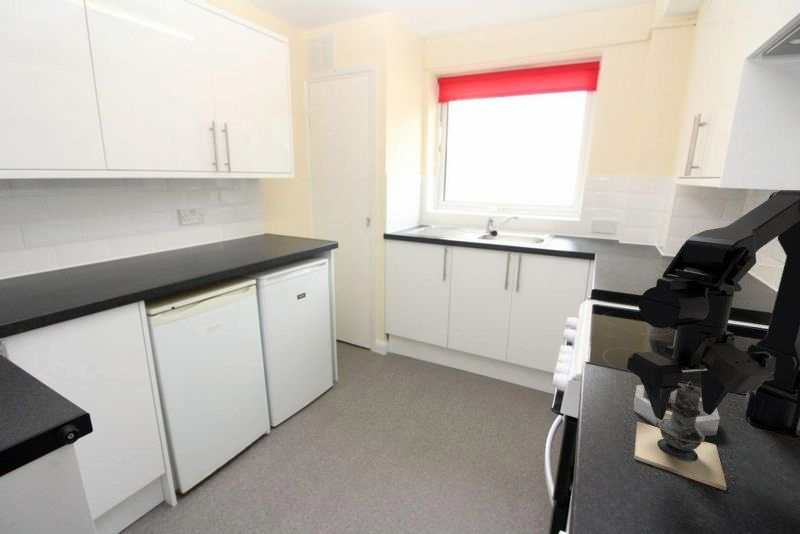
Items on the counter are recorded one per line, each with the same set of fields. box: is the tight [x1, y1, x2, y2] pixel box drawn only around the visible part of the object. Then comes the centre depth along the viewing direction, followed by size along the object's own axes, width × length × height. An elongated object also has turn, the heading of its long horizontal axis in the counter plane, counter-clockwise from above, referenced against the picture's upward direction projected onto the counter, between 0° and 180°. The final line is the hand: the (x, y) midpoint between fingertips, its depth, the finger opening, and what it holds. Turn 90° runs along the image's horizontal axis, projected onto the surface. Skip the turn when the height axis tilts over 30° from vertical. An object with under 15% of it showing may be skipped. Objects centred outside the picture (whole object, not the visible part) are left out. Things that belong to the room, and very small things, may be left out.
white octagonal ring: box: [633, 384, 721, 437], centre depth 71 cm, size 12×12×3 cm
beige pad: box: [633, 421, 728, 491], centre depth 60 cm, size 11×11×1 cm
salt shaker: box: [657, 380, 706, 462], centre depth 59 cm, size 6×6×12 cm
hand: (683, 415), depth 59 cm, fingers open, 9 cm apart
